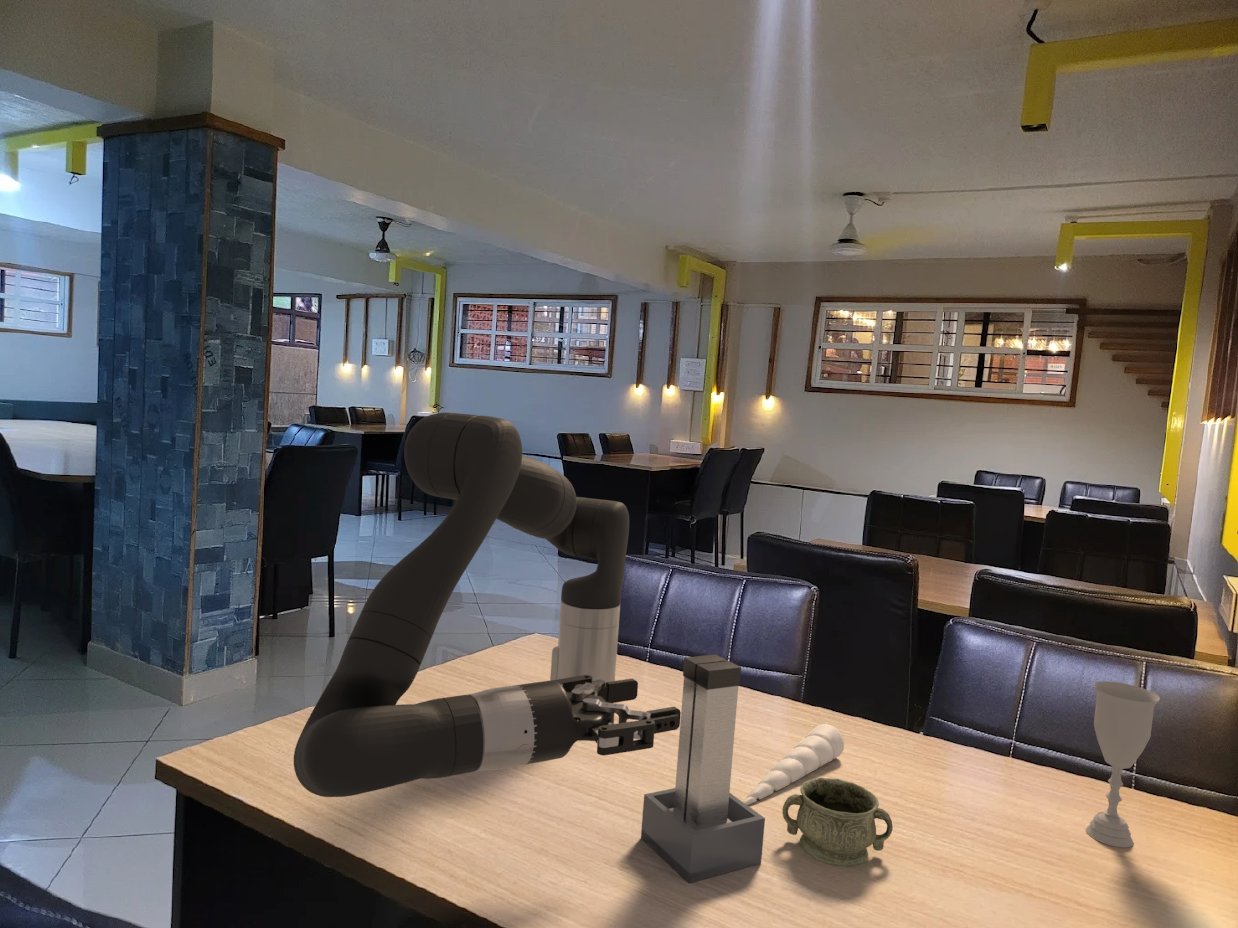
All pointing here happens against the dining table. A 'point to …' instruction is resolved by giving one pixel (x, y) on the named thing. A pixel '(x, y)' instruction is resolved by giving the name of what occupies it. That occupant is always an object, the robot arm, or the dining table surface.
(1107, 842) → the chalice
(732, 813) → the grey open storage bin
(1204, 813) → the dining table surface
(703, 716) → the split metal pillar
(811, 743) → the unicorn horn
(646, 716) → the robot arm
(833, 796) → the vessel
